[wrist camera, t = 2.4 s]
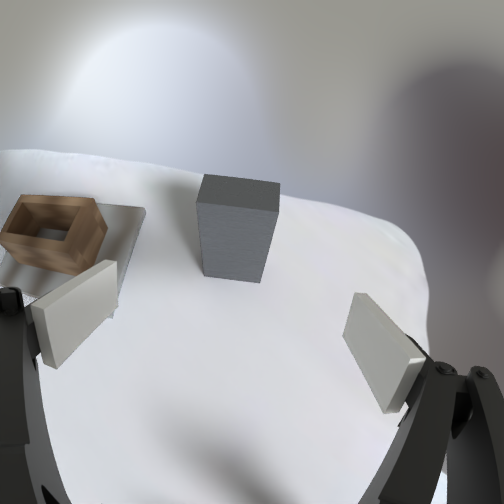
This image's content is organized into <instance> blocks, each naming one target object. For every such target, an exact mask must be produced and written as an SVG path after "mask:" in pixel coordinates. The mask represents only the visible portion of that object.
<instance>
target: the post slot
mask: <svg viewBox="0 0 504 504" xmlns="http://www.w3.org/2000/svg"><path fill="white" fill-rule="evenodd" d="M145 214H146V211H145V208H139V207H128V206H117V205H105V204H96V202H95V200H94V198H81V197H64V196H45V195H21V196H20V198H19V199H18V201H17V203H16V204H15V206H14V208H13V210H12V211H11V213H10V215H9V217H8V219H7V221H6V223H5V224H4V226H3V228H2V230H1V232H0V244H1V245H2V246H3V247H4V248H5V249H6V250H7V251H6V253H5V256H4V258H3V260H2V263H1V265H0V286H2V287H18V288H20V289H21V291H22V294H25V295H29V296H32V297H35V298H40V297H41V296H43V295H45V294H46V293H48V292H49V291H52V290H54V289H56V288H58V287H59V286H61V285H63V284H64V283H66V282H68V281H69V280H71V279H73V278H74V277H76V276H78V275H79V274H81V273H83V272H84V271H86V270H88V269H90V268H91V267H93V266H95V265H96V264H98V263H100V262H102V261H104V260H105V259H106V260H112V261H117V293H118V296H119V293H120V289H121V286H122V283H123V279H124V276H125V273H126V269H127V266H128V263H129V260H130V257H131V254H132V251H133V248H134V245H135V242H136V239H137V236H138V233H139V231H140V228H141V225H142V222H143V220H144V217H145ZM114 311H115V310H114ZM114 311H113V312H112V313H111V314H110V315H109V316H108V318H113V315H114Z"/></svg>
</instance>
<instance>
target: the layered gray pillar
mask: <svg viewBox="0 0 504 504" xmlns="http://www.w3.org/2000/svg"><path fill="white" fill-rule="evenodd" d="M279 200H280V183H275V182H268V181H260V180H253V179H245V178H236V177H228V176H218V175H208V174H204V177H203V180H202V184H201V187H200V191H199V194H198V198H197V201H196V205H197V215H198V225H199V235H200V244H201V252H202V261H203V269H204V276H207V277H215V278H222V279H230V280H238V281H246V282H254V283H260V281H261V277H262V274H263V270H264V266H265V263H266V259H267V255H268V252H269V248H270V244H271V240H272V237H273V233H274V229H275V225H276V222H277V218H278V214H279Z"/></svg>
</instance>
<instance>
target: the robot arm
mask: <svg viewBox="0 0 504 504" xmlns="http://www.w3.org/2000/svg"><path fill="white" fill-rule="evenodd" d="M117 307H118V293H117V261H112V260H106V259H105V260H104V261H102V262H100V263H98V264H96V265H95V266H93V267H91V268H90V269H88V270H86V271H84V272H83V273H81V274H79V275H78V276H76V277H74V278H73V279H71V280H69V281H68V282H66V283H64V284H63V285H61V286H59V287H58V288H56V289H54V290H52V291H49V292H48V293H46V294H45V295H43V296H41V297H40V298H38V300H35V301H34V302H32V303H30V304H29V305H27V306H26V307H24V303H23V297H22V291H21V289H20V288H18V287H4V288H1V289H0V504H72V503H71V501H70V500H69V498H68V496H67V494H66V491H65V489H64V486H63V483H62V480H61V477H60V474H59V471H58V468H57V464H56V461H55V458H54V454H53V450H52V446H51V442H50V438H49V434H48V429H47V425H46V420H45V414H44V409H43V403H42V396H41V389H40V381H39V372H38V363H37V360H36V356H37V355H38V354H39V353H40V352H41V356H42V359H43V363H44V364H45V365H48V366H50V367H52V368H55V369H58V368H59V367H60V366H61V365H62V364H63V362H64V361H65V360H66V359H67V358H68V357H69V356H70V355H71V354H72V353H73V352H74V351H75V350H76V349H77V348H78V347H79V346H80V345H81V343H82V342H83V341H84V340H85V339H86V338H87V337H88V336H89V335H90V334H91V333H92V332H93V331H94V330H95V329H96V328H97V327H98V326H99V325H100V324H101V323H102V322H103V321H104V320H105V319H106V318H107V317H108V316H109V315H110V314H111V313H112V312H113V311H114V310H115V309H116V308H117ZM343 338H344V340H345V342H346V343H347V345H348V347H349V349H350V351H351V353H352V355H353V356H354V358H355V360H356V362H357V364H358V366H359V368H360V369H361V371H362V373H363V375H364V377H365V379H366V381H367V383H368V385H369V387H370V388H371V390H372V392H373V394H374V396H375V398H376V400H377V402H378V404H379V406H380V408H381V410H382V412H383V414H390V413H398V412H399V411H400V410H401V408H402V406H403V404H404V402H406V403H407V405H408V407H409V408H408V410H407V411H406V413H405V415H404V416H403V418H402V420H401V421H400V423H399V425H398V427H399V429H398V431H397V433H396V436H395V438H394V440H393V442H392V444H391V446H390V448H389V450H388V452H387V454H386V456H385V458H384V460H383V462H382V464H381V466H380V467H379V469H378V471H377V473H376V475H375V476H374V478H373V480H372V482H371V483H370V485H369V487H368V488H367V490H366V492H365V493H364V495H363V496H362V498H361V500H360V501H359V503H358V504H431V501H432V498H433V495H434V492H435V489H436V486H437V483H438V480H439V476H440V473H441V469H442V466H443V462H444V458H445V454H446V453H447V504H504V398H503V396H502V393H501V391H500V389H499V386H498V384H497V382H496V380H495V378H494V375H493V374H492V373H491V372H490V371H489V370H488V369H487V368H485V367H480V366H474V367H472V368H471V370H470V372H469V374H468V376H462V375H458V374H457V371H456V370H455V368H454V367H452V366H451V365H449V364H447V363H444V362H434V361H433V360H432V359H431V358H430V357H429V355H428V354H427V353H426V352H425V351H424V350H422V348H421V347H420V346H419V345H418V343H417V342H416V341H415V340H414V339H413V338H411V337H410V336H408V335H407V334H405V333H403V331H402V330H401V329H400V328H399V327H398V326H397V325H396V324H395V323H394V322H393V321H392V320H391V319H390V317H389V316H388V315H387V314H386V313H385V312H384V311H383V310H382V309H381V308H380V307H379V306H378V305H377V304H376V303H375V302H374V301H373V300H372V299H371V297H370V296H369V295H368V294H367V293H356V292H354V296H353V300H352V304H351V308H350V311H349V315H348V319H347V322H346V326H345V329H344V333H343Z"/></svg>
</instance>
